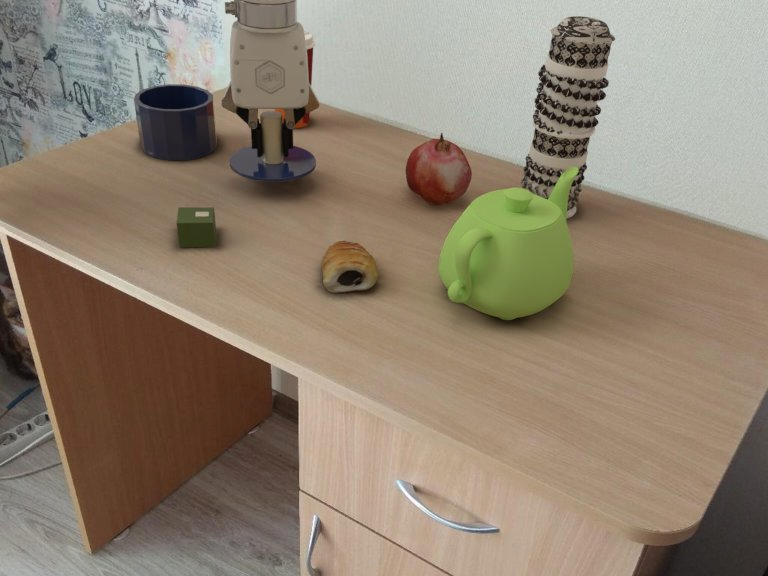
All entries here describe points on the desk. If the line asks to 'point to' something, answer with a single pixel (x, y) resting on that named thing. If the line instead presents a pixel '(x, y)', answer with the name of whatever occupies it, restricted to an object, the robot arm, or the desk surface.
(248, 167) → the lid
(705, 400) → the desk surface
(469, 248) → the teapot
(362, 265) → the pastry
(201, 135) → the dark blue round pot
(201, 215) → the olive cube with label
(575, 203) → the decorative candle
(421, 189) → the fruit
